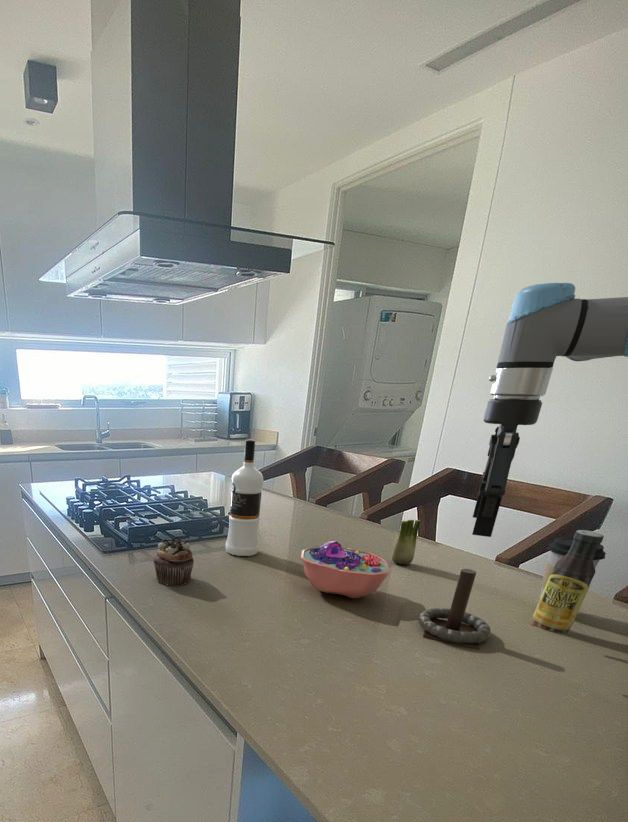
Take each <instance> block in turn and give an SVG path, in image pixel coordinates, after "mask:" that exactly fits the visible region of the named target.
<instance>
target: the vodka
mask: <svg viewBox="0 0 628 822" xmlns="http://www.w3.org/2000/svg"><path fill="white" fill-rule="evenodd" d="M244 443H245V444H244V453H243V454H244V455H243V464H242V466H241V467H240V468H238V469H237V470H235V471H234V472H233V473H232V475H231V478H230V479H231V487H230V491H231V492H230V504H229V505H230V506H229V515H228V531H227V538H226V541H225V551H226V552H227V553H228V554H229V553H230V555H231V554H232V555H231V556H234V555H236V556H235V557H240V556H248V557H253V556H254V555H255V556H256V555H257V554H258V553H259V551H260V544H259V528H260V527H259V526H260V520H261V517H260V516H261V515H260V514H261V503H262V491H263V487H264V475H263V474H262V472H260V470H258V469H257V468H256V467H254V462H255V450H256V440H255V439H245V440H244Z"/></svg>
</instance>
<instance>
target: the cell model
mask: <svg viewBox="0 0 628 822" xmlns="http://www.w3.org/2000/svg"><path fill="white" fill-rule="evenodd" d="M300 559H301V561H302V563H303V564H302V565H303V571H304V575H305V577H306V579H307V580H308V582H309V583H310V585H311V586H312V587H313V588H314V589H315V590H317V591H320V592H323V593H326V594H334V595H335V594H336V595H341V596H345V597H346V598H350V599H359V598H363V597H365V596H367V595H370V594H372V593H374V592H376V591H377V590H378V589H379V588H380V587H381V585H383V583H384V582H385V580H386V579H387V577H388V576H389V575H390V573H391V571H392V570H391V568H390V565H389V564H388V563H387V561H386V560H385V559H384V558H382V557H380V556H378V555H377V554H374V553H372V552H369V551H366V550H360V549H355V548H349V547H343V546H342V544H341V543H340V542H339V541H336V540H331V541H328V542H324V544H323V545H314V546H311V547H308V548H305V549H303V550H301V554H300Z"/></svg>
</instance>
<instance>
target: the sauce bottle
mask: <svg viewBox="0 0 628 822" xmlns="http://www.w3.org/2000/svg"><path fill="white" fill-rule="evenodd" d="M604 536H605V535H604V534H602V533H600V532H596V531H593V530H585V529H578V530H575V533H574V535H573V538H574V540H573V543H572V545H571V548H570V550H569V551H568V553H567V554H566V555H565V556H564V557H562V558H561V559H560V560H559V561H557V563H556V564H555V567H554V569H553V571H552V573H551V575H550V577H549V579H548V581H547V584H546V586H545V588H544V591H543V593H542V596H541V598H540V597H539V598H540V601H539V600H538V603H537V605H536V608H535V610H534V612H533V615H532V618H531V622H530V623H531V624H530V626H531V627H536V628H539V629H542V630H544V631H547V632H553V633H559V634H563V633H564V634H565V633H566V634H568V633H569V631H570V630H571V628H572V626H573V624H574V622H575V620H576V617H577V615H578V612H579V610H580V609H581V606H582V604H583V602H584V600H585V597H586V595H587V593H588V592H589V589H590V585H591V583H592V581H593V579H594V576H595V575H596V568H595V567H594V564H593V558H594V556H595V552H596V550H597V548H598V546H599V544H601V543H603V540H604Z"/></svg>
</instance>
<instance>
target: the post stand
mask: <svg viewBox="0 0 628 822" xmlns="http://www.w3.org/2000/svg"><path fill="white" fill-rule="evenodd" d="M476 576H477V571H476V570H474V569H470V568H462V569H460V572H459V575H458V580H457V584H456V587H455V591H454V594H453V597H452V602H451V605H450V608H449V609H450V612H449V616H448V619H447V620H446V619H443V618H436V619H431V621H432V622H433V623H435V624H437V625H438V626H441V627H444V628H447V629H450V630H455V631H459V632H476V631H477V630H476V629H475V628H474V627H472V626H470V625H468V624H466V623H463V622H462V621H463V617H464V614H465V612H466V610H467V606H468V604H469V599H470V596H471V594H472V589H473V586H474V582H475V579H476ZM422 638H423V639H429V640H432V641H437V642H441V643H446V644H449V645H454V646H458V647H463V648H468V649H472V650H476V651H479V650H480V642H479V643H472V644H470V643H457V642H453V641H448V640H444V639H442V638H439V637H436V636H434V635H432V634H430V633H429V632H427V631H425V630H424V629H423V635H422Z"/></svg>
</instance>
